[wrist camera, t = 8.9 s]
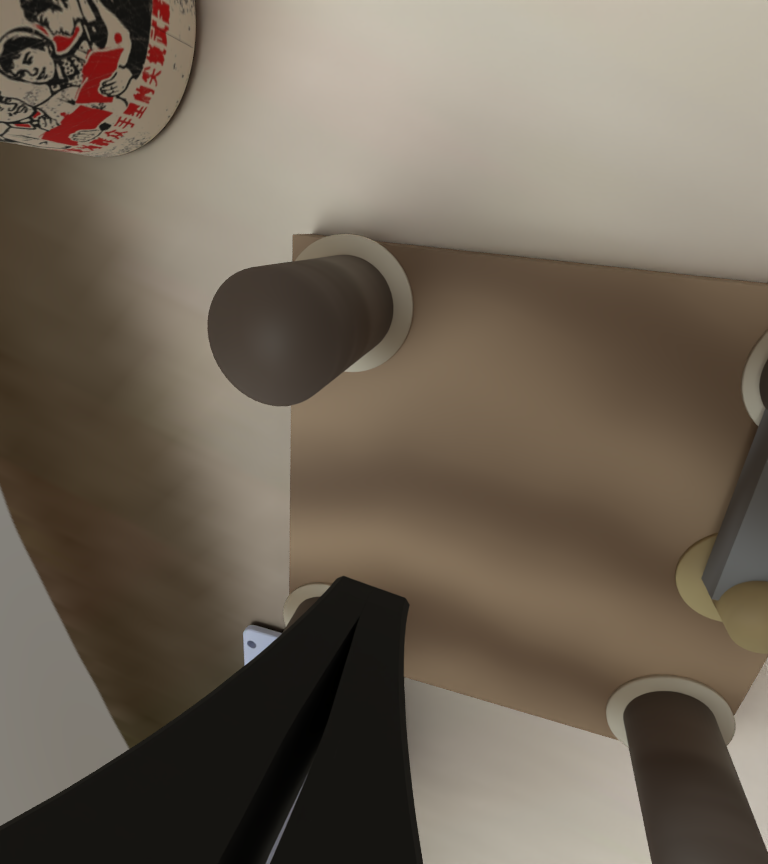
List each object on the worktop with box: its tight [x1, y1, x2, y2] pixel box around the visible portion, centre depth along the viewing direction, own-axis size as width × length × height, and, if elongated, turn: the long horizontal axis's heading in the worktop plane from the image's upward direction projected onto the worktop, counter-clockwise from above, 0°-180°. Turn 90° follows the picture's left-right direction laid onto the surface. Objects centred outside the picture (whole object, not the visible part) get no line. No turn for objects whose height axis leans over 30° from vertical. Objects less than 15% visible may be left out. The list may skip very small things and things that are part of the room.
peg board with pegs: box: [208, 234, 768, 864], centre depth 16 cm, size 18×18×7 cm
